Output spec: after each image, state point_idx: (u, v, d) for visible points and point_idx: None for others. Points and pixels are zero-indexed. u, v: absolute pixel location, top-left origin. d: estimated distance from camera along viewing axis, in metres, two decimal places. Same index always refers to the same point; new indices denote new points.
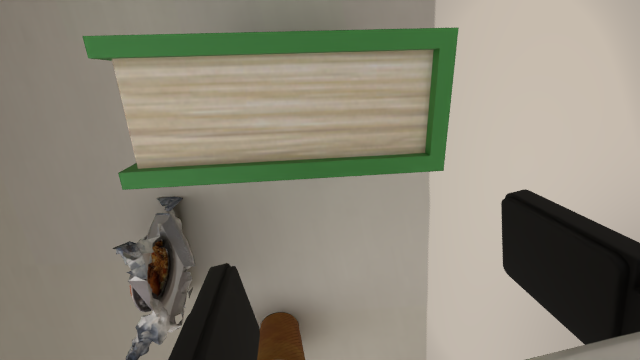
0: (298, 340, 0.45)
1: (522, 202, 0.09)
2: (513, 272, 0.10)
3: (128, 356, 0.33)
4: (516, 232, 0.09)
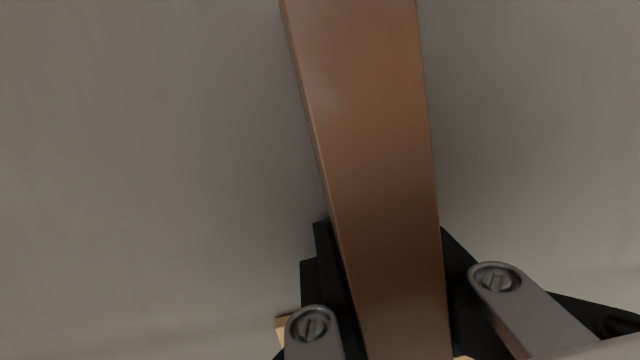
0: None
1: None
2: None
3: None
4: None
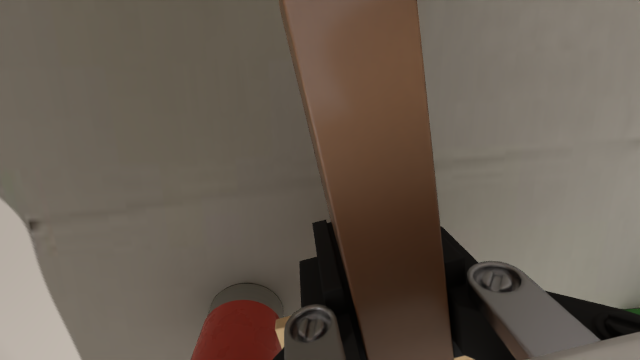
0: None
1: None
2: None
3: None
4: None
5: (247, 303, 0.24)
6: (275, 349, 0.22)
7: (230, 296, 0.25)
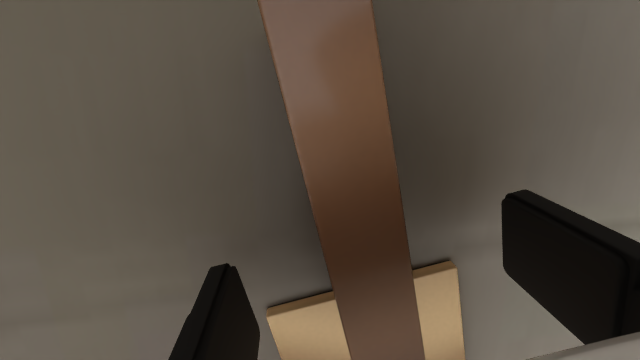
0: None
1: (522, 202, 0.09)
2: (514, 272, 0.10)
3: None
4: (516, 232, 0.09)
5: None
6: None
7: None
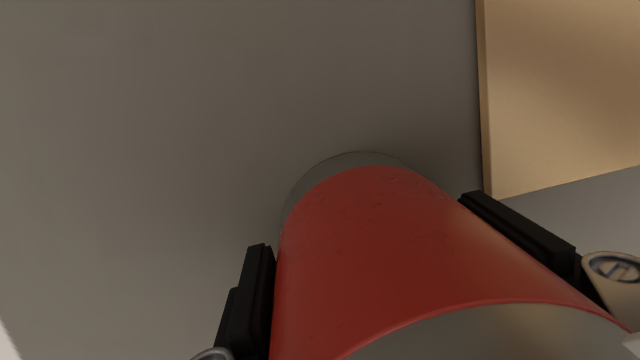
0: None
1: (474, 201, 0.10)
2: None
3: None
4: None
5: (397, 170, 0.10)
6: None
7: (343, 165, 0.11)
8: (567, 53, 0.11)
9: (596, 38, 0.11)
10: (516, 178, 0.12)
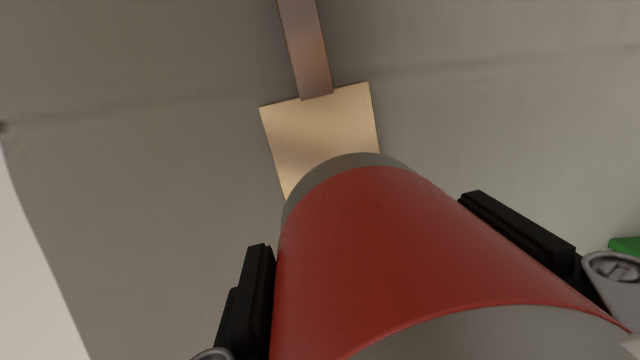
0: None
1: (474, 201, 0.10)
2: None
3: None
4: None
5: (397, 171, 0.10)
6: None
7: (343, 165, 0.11)
8: (311, 158, 0.24)
9: (323, 151, 0.24)
10: None
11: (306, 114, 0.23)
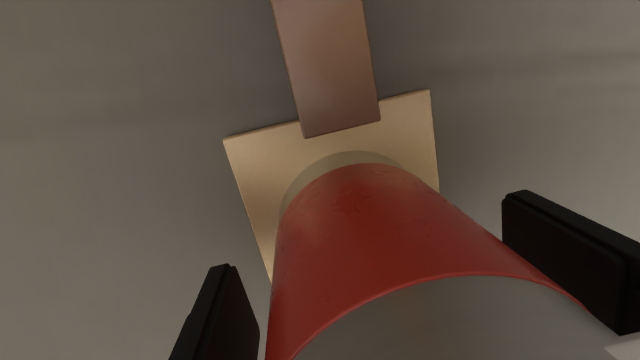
0: None
1: (522, 202, 0.09)
2: None
3: None
4: (516, 232, 0.09)
5: (387, 168, 0.10)
6: None
7: (337, 162, 0.11)
8: None
9: None
10: None
11: (313, 151, 0.12)
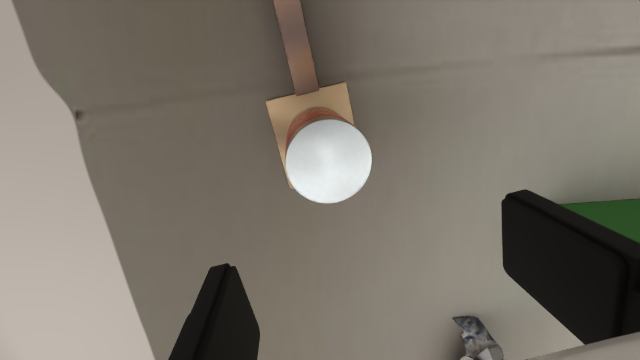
0: None
1: (523, 202, 0.09)
2: (514, 272, 0.10)
3: None
4: (516, 232, 0.09)
5: (326, 109, 0.29)
6: None
7: (309, 108, 0.30)
8: None
9: None
10: None
11: (300, 106, 0.31)
